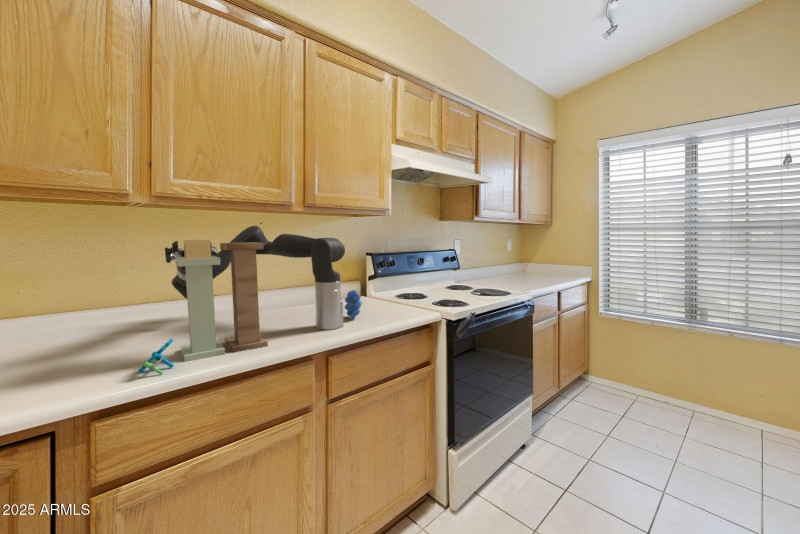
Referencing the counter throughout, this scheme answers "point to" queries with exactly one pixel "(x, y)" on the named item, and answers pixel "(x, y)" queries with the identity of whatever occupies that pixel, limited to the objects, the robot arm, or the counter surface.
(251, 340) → the tall stand
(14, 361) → the counter surface
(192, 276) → the short stand
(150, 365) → the tinkertoy rod frame
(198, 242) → the tan wooden block
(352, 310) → the grapes
